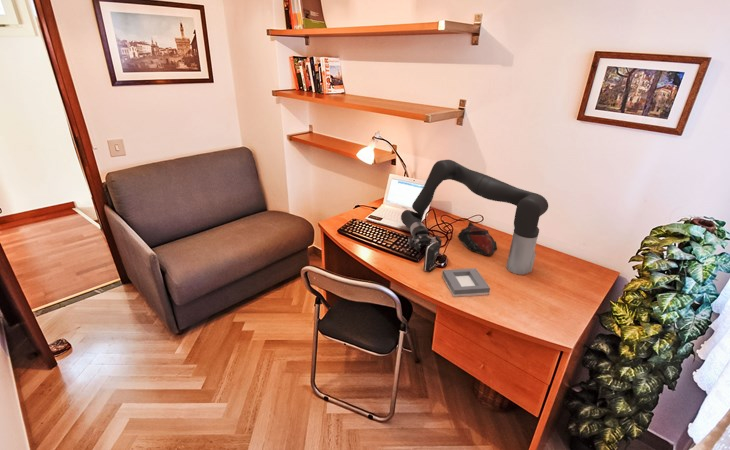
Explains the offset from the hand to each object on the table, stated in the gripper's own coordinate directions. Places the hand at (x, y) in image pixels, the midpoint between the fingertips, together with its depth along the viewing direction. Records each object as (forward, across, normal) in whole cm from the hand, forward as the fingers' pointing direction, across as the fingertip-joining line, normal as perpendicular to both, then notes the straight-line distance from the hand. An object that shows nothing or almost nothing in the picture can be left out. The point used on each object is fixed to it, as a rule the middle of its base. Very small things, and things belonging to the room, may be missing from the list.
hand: (429, 249), depth 157 cm
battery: (+5, 0, +7) cm, 9 cm away
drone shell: (-15, +28, +7) cm, 33 cm away
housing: (+18, +10, +7) cm, 22 cm away
